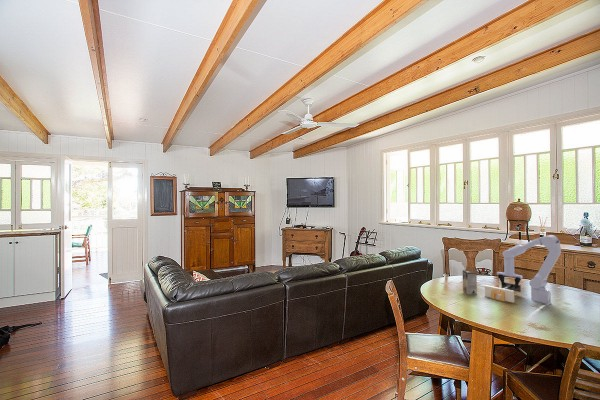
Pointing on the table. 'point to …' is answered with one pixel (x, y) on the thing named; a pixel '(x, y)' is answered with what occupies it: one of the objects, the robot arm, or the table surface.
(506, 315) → the table surface
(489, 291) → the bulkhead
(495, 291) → the block
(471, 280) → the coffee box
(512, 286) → the shaft
